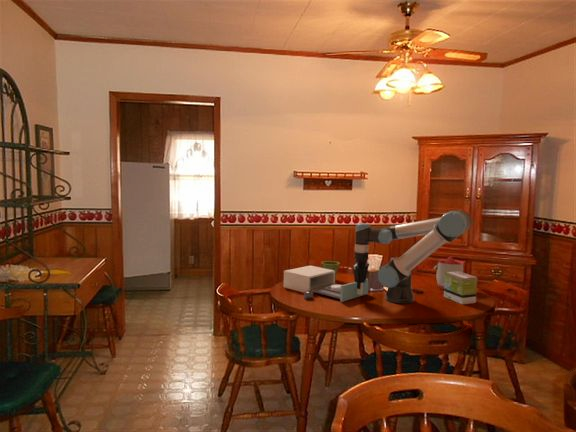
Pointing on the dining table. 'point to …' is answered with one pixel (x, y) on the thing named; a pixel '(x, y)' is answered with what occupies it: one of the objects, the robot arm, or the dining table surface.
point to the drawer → (342, 291)
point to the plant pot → (331, 266)
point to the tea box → (460, 287)
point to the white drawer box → (308, 278)
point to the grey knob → (308, 295)
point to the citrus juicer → (447, 269)
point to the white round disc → (336, 287)
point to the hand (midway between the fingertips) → (359, 294)
